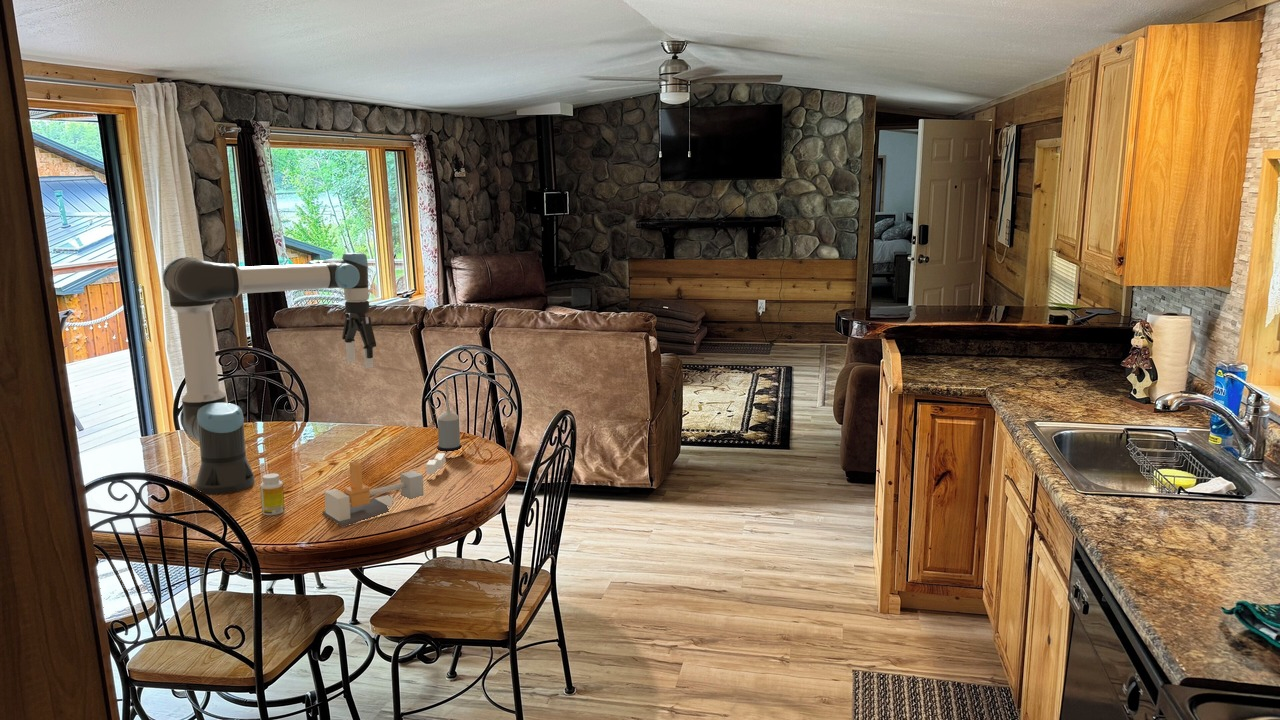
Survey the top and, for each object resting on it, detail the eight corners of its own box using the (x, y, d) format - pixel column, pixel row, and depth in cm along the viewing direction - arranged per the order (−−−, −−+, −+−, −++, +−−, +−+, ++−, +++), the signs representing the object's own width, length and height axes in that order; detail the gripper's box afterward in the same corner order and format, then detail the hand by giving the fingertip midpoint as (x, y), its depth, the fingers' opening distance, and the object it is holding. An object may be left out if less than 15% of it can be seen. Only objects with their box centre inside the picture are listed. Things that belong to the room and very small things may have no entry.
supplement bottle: (288, 512, 230) (286, 475, 228) (267, 518, 226) (265, 480, 224) (279, 507, 234) (276, 470, 232) (258, 512, 230) (255, 475, 228)
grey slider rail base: (342, 527, 221) (341, 499, 219) (322, 514, 229) (321, 487, 228) (433, 503, 238) (432, 477, 237) (411, 492, 247) (410, 467, 245)
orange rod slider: (352, 507, 226) (349, 467, 224) (345, 503, 229) (342, 463, 227) (369, 503, 229) (367, 463, 227) (362, 499, 232) (360, 459, 230)
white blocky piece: (441, 466, 272) (440, 448, 271) (466, 473, 265) (465, 455, 264) (402, 478, 260) (401, 460, 259) (427, 486, 253) (426, 467, 252)
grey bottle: (440, 451, 286) (437, 376, 282) (465, 451, 286) (463, 377, 281) (433, 458, 278) (430, 382, 274) (459, 458, 278) (456, 382, 273)
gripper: (385, 303, 276) (388, 369, 280) (351, 296, 294) (354, 357, 298) (362, 305, 271) (365, 371, 275) (329, 297, 289) (333, 360, 293)
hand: (359, 364), depth 286 cm, fingers open, 13 cm apart
